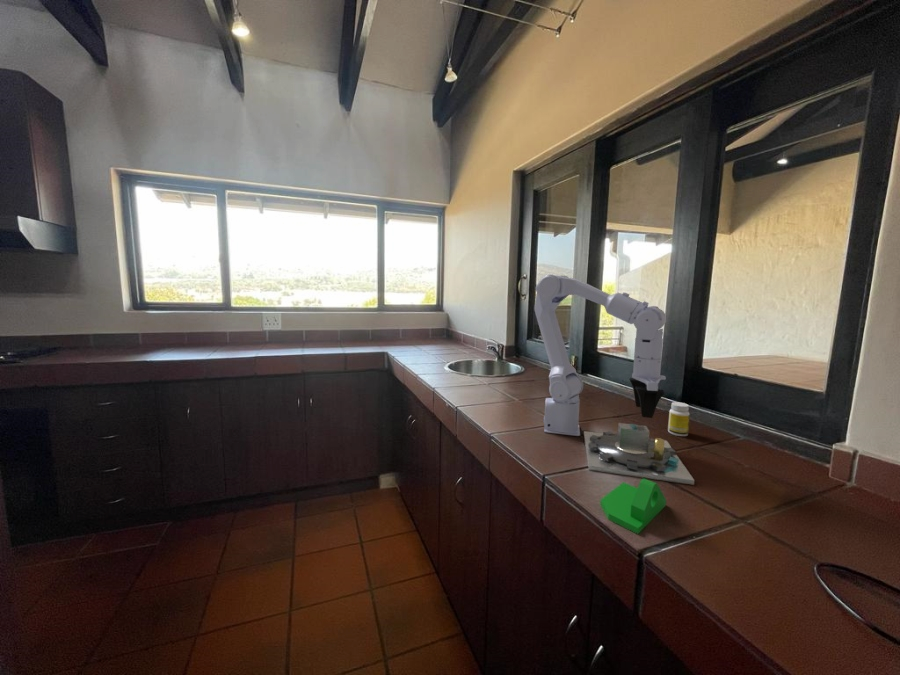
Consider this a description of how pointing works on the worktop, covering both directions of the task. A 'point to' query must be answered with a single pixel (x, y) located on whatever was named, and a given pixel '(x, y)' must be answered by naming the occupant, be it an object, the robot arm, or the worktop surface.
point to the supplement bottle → (679, 419)
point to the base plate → (671, 473)
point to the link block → (633, 437)
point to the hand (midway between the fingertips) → (643, 411)
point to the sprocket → (634, 453)
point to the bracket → (634, 504)
